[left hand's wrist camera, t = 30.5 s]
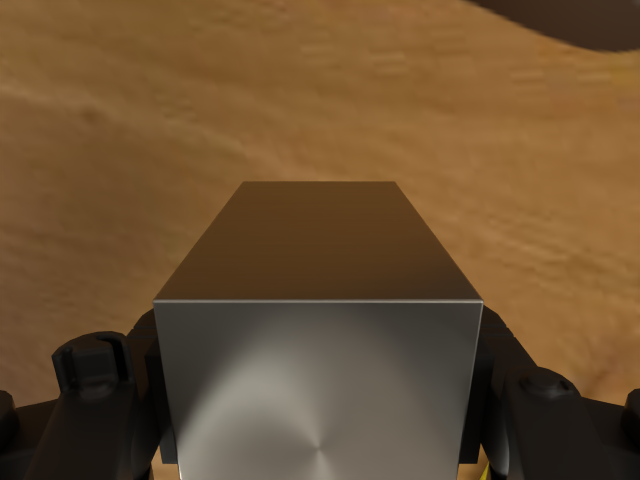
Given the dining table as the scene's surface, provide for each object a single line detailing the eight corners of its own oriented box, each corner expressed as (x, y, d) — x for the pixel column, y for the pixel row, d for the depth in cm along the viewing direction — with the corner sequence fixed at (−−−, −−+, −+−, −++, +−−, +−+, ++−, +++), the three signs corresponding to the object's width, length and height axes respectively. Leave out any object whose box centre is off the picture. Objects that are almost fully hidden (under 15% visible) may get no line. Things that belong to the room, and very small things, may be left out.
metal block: (395, 181, 14) (485, 300, 7) (385, 333, 16) (445, 561, 9) (242, 180, 14) (151, 300, 7) (252, 333, 16) (191, 561, 9)
